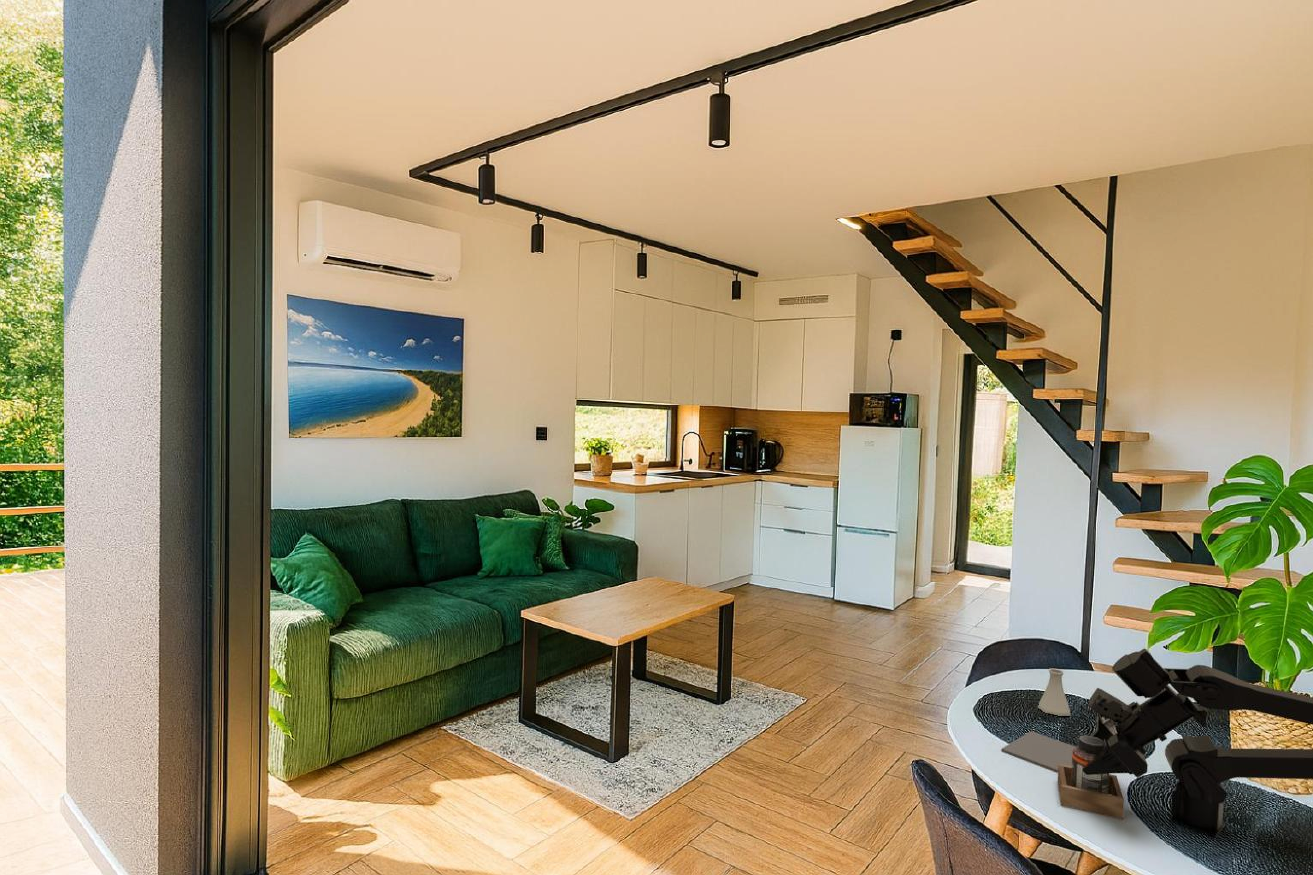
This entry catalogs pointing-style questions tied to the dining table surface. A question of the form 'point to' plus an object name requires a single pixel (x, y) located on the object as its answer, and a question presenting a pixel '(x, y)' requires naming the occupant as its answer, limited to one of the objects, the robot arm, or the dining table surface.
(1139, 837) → the dining table surface
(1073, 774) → the supplement bottle
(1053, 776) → the dining table surface
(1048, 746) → the grey-brown square block
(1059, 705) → the flask
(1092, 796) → the walnut box
